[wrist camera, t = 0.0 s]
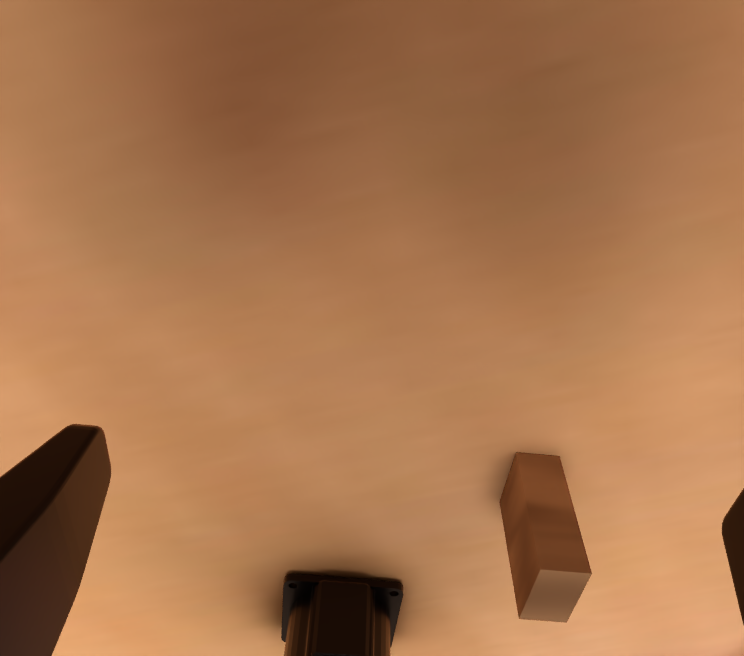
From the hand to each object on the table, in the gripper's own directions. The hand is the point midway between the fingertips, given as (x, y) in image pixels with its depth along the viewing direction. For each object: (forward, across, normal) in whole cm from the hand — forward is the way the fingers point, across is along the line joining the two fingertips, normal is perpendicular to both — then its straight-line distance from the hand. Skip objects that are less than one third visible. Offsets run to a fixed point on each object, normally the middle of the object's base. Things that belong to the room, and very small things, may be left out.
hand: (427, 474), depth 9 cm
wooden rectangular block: (+15, -8, +16) cm, 23 cm away
